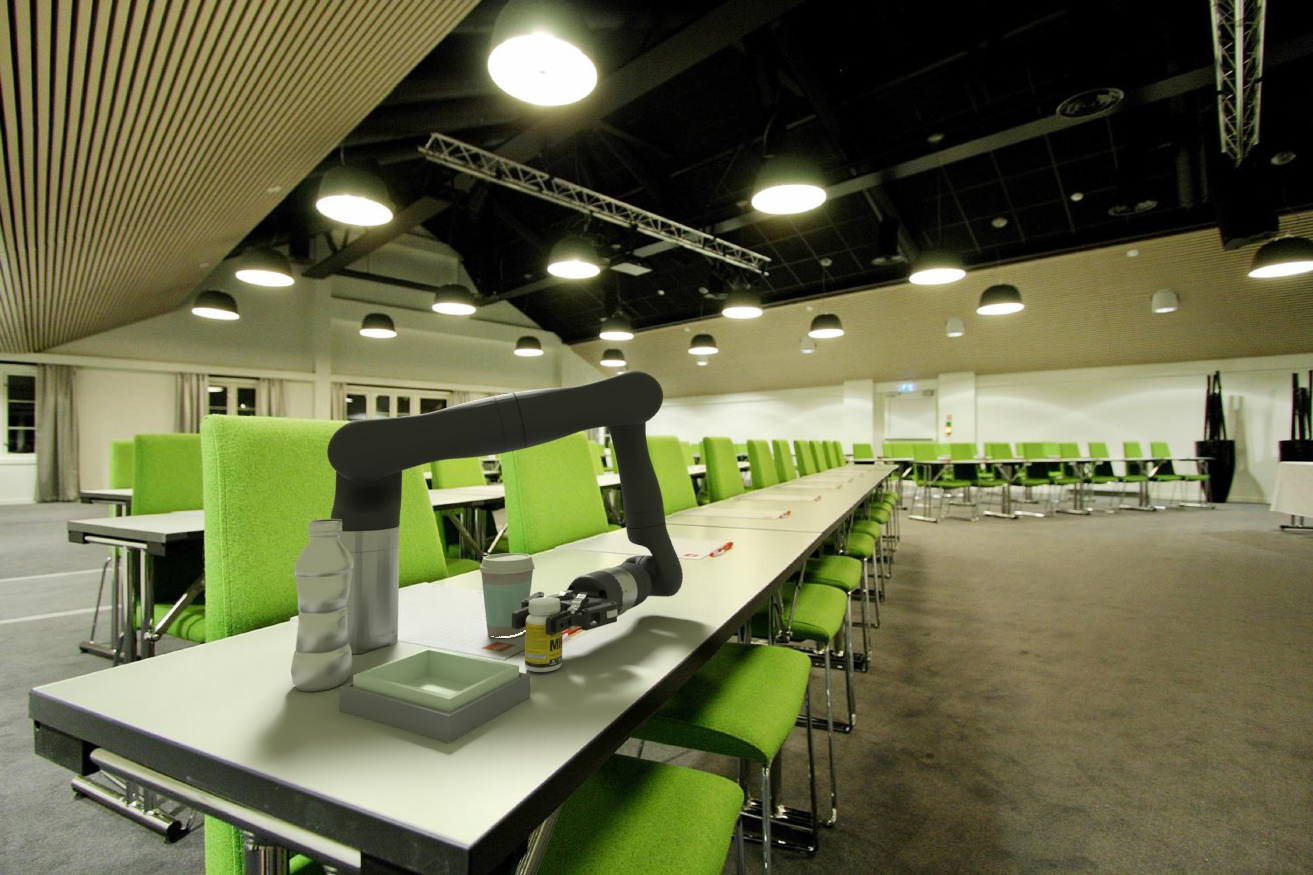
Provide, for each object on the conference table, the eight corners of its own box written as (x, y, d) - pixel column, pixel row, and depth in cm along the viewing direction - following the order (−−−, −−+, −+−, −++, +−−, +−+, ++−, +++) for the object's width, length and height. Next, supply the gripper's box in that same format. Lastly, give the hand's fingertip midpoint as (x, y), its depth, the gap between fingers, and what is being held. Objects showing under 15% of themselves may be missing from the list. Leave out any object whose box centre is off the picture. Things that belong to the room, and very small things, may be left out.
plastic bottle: (287, 703, 65) (291, 524, 66) (293, 682, 71) (297, 519, 72) (352, 692, 68) (355, 521, 69) (352, 673, 74) (355, 516, 75)
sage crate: (352, 708, 63) (353, 674, 63) (428, 677, 72) (428, 647, 72) (449, 736, 56) (449, 698, 56) (518, 698, 65) (519, 665, 65)
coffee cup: (531, 623, 97) (531, 551, 97) (537, 638, 89) (538, 559, 89) (477, 628, 94) (478, 554, 95) (479, 644, 86) (480, 562, 87)
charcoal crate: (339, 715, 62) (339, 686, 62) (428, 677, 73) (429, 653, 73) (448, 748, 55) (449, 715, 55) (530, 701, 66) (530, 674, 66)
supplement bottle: (554, 674, 72) (554, 605, 72) (518, 671, 73) (519, 603, 73) (567, 661, 77) (568, 596, 77) (534, 658, 77) (534, 595, 78)
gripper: (564, 566, 91) (487, 587, 76) (645, 574, 85) (578, 600, 69) (563, 614, 91) (486, 645, 75) (644, 626, 84) (578, 664, 69)
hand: (531, 623), depth 72 cm, fingers closed on supplement bottle, 4 cm apart
